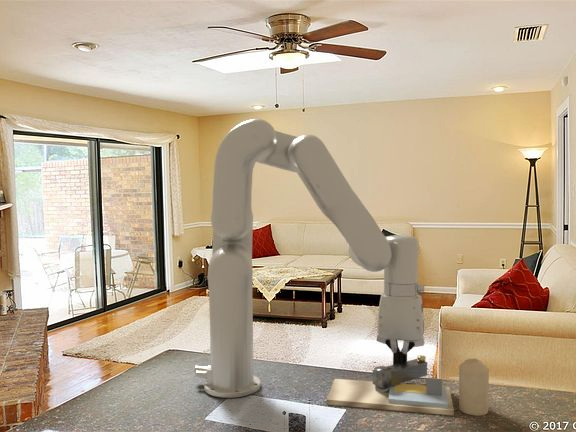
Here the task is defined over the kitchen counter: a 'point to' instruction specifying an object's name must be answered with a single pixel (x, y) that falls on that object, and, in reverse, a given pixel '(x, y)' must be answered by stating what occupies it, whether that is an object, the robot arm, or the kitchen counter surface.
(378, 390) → the pivot post
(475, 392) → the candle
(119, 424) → the kitchen counter surface
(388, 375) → the latch bar
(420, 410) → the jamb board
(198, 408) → the kitchen counter surface
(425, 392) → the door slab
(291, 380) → the kitchen counter surface
